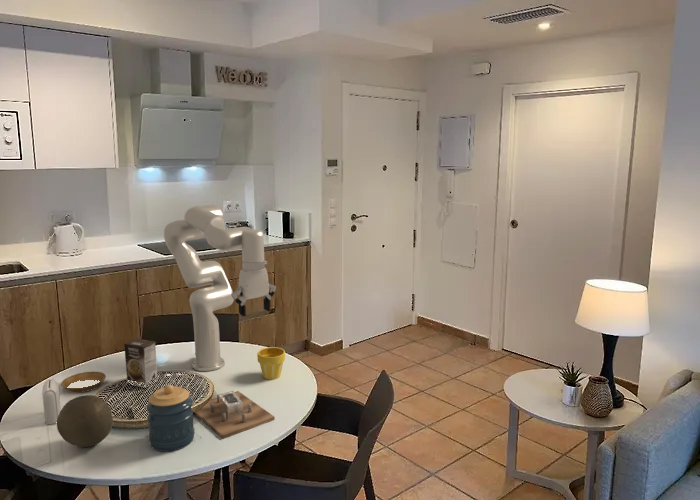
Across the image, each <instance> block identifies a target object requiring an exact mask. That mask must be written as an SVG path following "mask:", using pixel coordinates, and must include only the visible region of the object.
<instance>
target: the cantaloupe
mask: <svg viewBox="0 0 700 500" xmlns="http://www.w3.org/2000/svg"><path fill="white" fill-rule="evenodd" d="M113 424H114V419H113V415H112V409H111V407H110V406H109V404H108V403H106V402H105V401H104V399H102V398H101V397H99V396H98V395H97V396H96V395H92V394H89V395H88V394H85V395H80V396H76V397H74V398H72V399H70V400H68V401H67V402H66V403H65V404H64V405H63V406H62V408H61V411H60V413H59V415H58V418H57V423H56V429H57V431H58V433H59V435H60V436H61V438H62V439H63V440H64V441H65V442H66V443H68V444H70V445H72V446H75V447H78V448H86V447H92V446H96V445H97V444H99V443H101V442H102V441H104V440H105V439H106V438H107V437H108V436H109V434H110V433H111V430H112V427H113Z"/></svg>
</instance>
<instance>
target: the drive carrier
mask: <svg viewBox="0 0 700 500" xmlns="http://www.w3.org/2000/svg"><path fill="white" fill-rule="evenodd" d="M235 392H236V391H234V390H230V391H227V392H222V393H218V394H219V407H220V409H221V410H222V412H223V413H226V417H227V419H228V420H230V419H234V418H238V417H242V414H243V402H242V401H241V400H240V399H239V397H238V396H237V395H236V394H235Z"/></svg>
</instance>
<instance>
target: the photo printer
mask: <svg viewBox="0 0 700 500" xmlns="http://www.w3.org/2000/svg"><path fill="white" fill-rule="evenodd" d="M41 391H42V393H41V395H42V402H43V403H42V404H43V410H44V411H43V412H44V419H45V423H46V424H47V425H49V424H50V425H54V424H53V423H55V424H57V423H56V422H57V418H58V415H59V413H60V411H61V410H62V408H61V407H62V406H61V400H60V392H59V383H58V381H57V380H56V379H55V378H49V379H47V380H45V382H44V383H43V386H42V390H41Z"/></svg>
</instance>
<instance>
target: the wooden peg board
mask: <svg viewBox="0 0 700 500" xmlns="http://www.w3.org/2000/svg"><path fill="white" fill-rule="evenodd" d="M234 392H235V394H236V395H237V396H238V397H239V399H240V400H241V401H242V402H243V414H242V417H238V418H234V419H230V420H228V419H227V417H226V413H223V412H222V410H221V409H220V407H219V394H220V393H218V394H217V395H216V397H215V398H212V399H209V400H210V401H209V402H208V403H207V404H206V405H205V406H204V407H203V408H202V409H201V410H199V411H198V412H196V414H195V416H197V417H198V418H199V419H200V420H201V421H203V423H204V424H205V425H207V426H208V427H209V428H210V429H212V431H213V432H215V434H217V435H218V436H219V437H221V439H227V438H230V437H232V436H236V435H237V434H240V433H243V432H244V431H245V432H246V431H248V430H251V429H254V428H257V427H259V426H261V425H263V424H266V423H269V422H272V421H275V418H276V417H275V415H273V414H271V413H270V412H269V411H267V410H266V409H264V408H263V407H261V406H260V405H259V404H257V403H256V402H254V401H253V400H252V399H250V398H249V397H247V395H244V394H243V393H242V392H240V391H239V390H237V391H234Z"/></svg>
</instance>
